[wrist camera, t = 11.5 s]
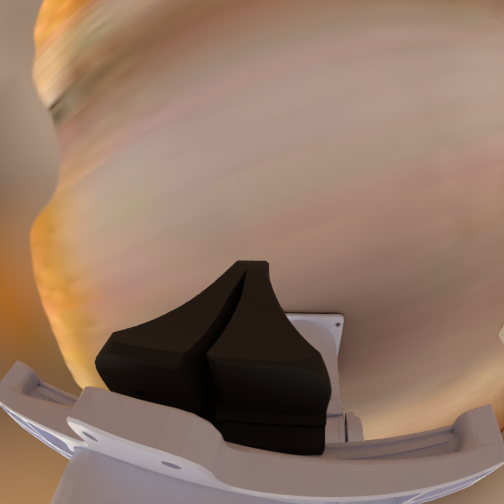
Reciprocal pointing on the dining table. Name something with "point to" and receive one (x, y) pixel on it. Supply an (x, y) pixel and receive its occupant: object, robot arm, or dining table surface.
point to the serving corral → (501, 334)
